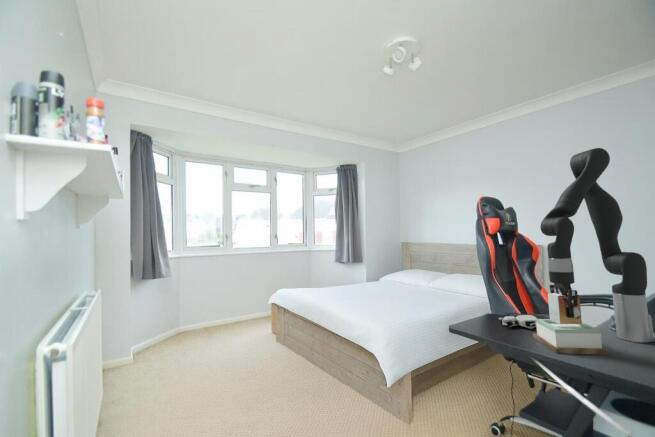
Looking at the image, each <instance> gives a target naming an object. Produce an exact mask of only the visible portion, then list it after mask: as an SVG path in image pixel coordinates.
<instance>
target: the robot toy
mask: <svg viewBox="0 0 655 437" xmlns="http://www.w3.org/2000/svg"><path fill="white" fill-rule="evenodd" d="M536 319H538V318H537V317H536V316H534V315H532V314H530V315H529V314H519V315H517V316H516V317H515V316H512V315H510V316H507V315H506V316H502V317H498V320H499V322H500V324H502V325H503V326H506V327H509V328H513V327H518V326H521V327H522V328H523V327H524V328H527V329H529V330H532V329H534V328H537V326H536Z"/></svg>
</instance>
